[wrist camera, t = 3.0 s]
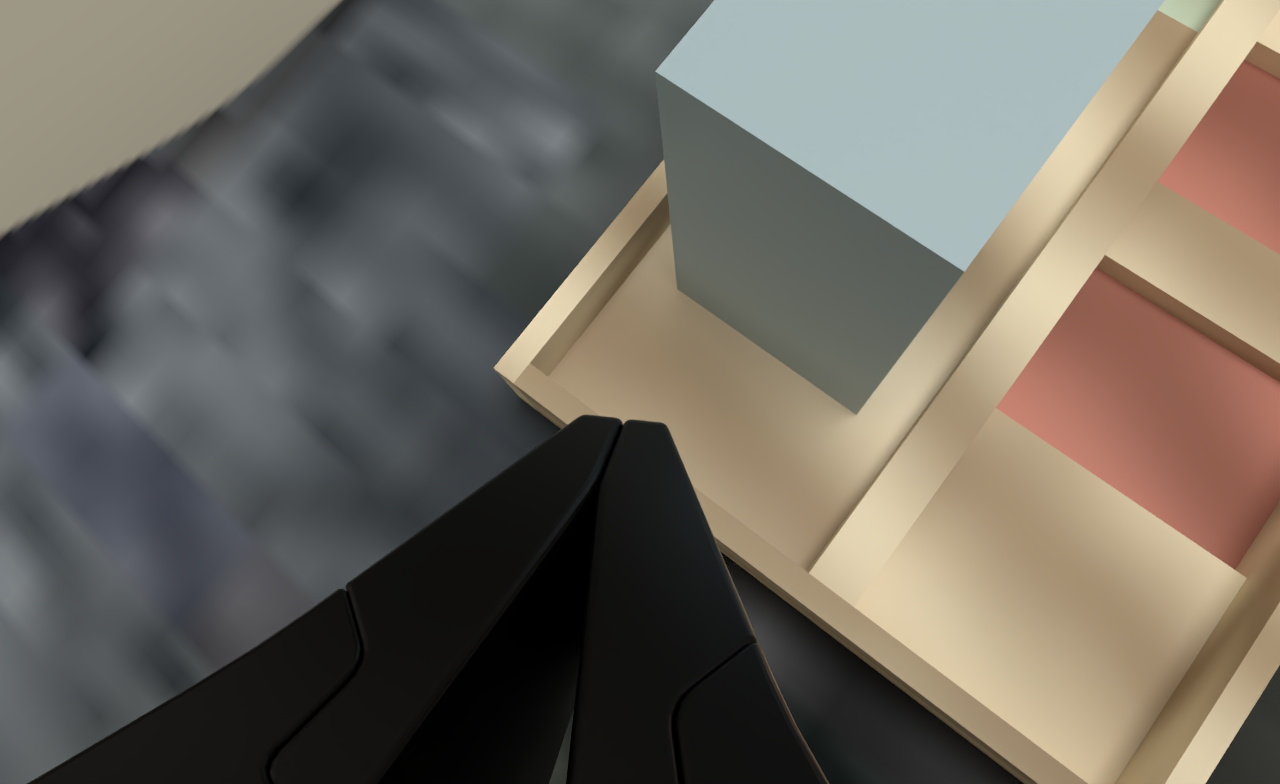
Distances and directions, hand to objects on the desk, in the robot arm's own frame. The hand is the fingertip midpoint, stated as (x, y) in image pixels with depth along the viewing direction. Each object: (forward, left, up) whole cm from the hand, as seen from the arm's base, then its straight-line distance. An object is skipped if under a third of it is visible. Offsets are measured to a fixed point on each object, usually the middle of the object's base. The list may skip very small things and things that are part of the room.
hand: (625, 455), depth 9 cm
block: (+6, +1, -9) cm, 11 cm away
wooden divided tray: (+11, -3, -10) cm, 15 cm away
